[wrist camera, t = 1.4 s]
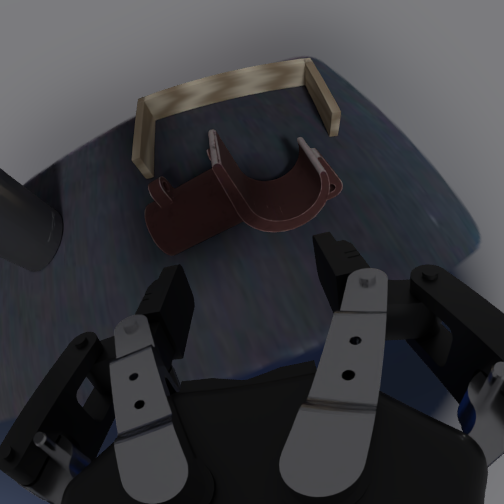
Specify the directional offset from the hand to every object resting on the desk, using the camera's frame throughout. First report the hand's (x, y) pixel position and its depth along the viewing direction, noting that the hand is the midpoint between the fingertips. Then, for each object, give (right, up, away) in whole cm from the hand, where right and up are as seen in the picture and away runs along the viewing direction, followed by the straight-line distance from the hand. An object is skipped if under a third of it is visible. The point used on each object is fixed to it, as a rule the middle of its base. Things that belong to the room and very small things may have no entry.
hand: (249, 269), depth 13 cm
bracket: (0, +5, +17) cm, 18 cm away
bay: (-2, +16, +21) cm, 27 cm away
